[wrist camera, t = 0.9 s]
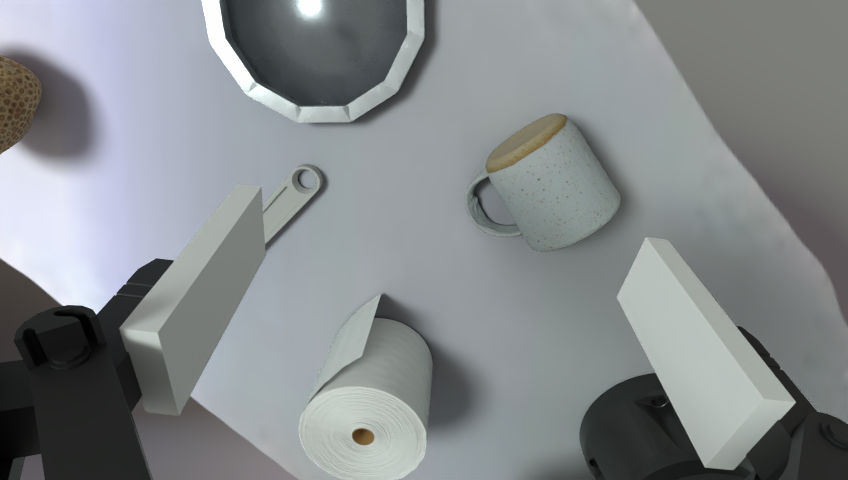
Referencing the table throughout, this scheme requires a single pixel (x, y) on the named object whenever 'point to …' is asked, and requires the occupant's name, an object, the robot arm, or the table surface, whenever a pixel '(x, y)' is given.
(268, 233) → the adjustable wrench
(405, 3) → the flange seat
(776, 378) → the robot arm
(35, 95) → the natural sponge
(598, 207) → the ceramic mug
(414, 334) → the toilet tissue
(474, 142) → the table surface
